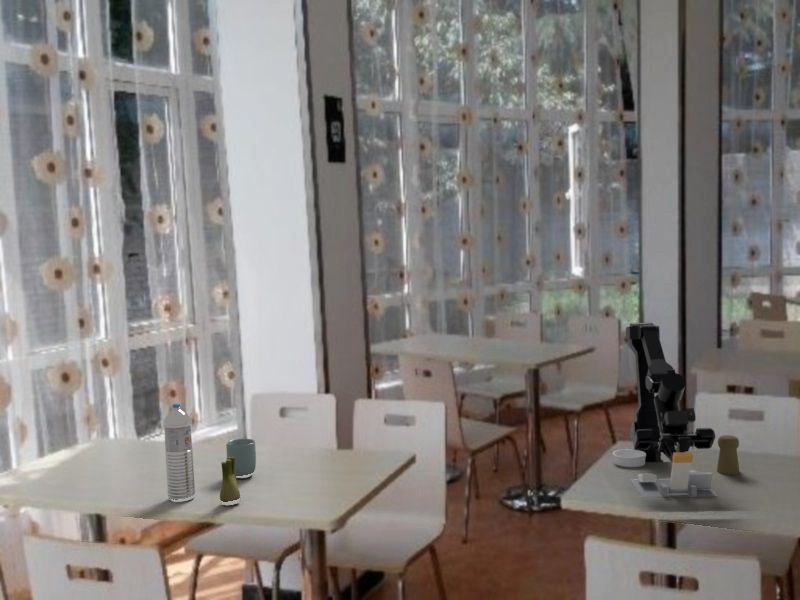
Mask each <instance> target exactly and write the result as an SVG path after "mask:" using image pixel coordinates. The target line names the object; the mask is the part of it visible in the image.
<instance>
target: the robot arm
mask: <svg viewBox="0 0 800 600" xmlns="http://www.w3.org/2000/svg"><path fill="white" fill-rule="evenodd" d="M660 332H661V331H660V325H656V324H654V323H653V322H631V323H629V326H627V327H625V338H626V340H627V343H628V346H629V348H630V349H631V351H632V353H633V354H634V355H635V356H634V357H635V358H634V359H635V371H636V372H635V373H636V385H637V398H638V399H637V400H638V403H637V404H638V407H637V408H636V410H635V412H634V414H633V420H632V421H631V425H630V430H629V438H630V439H629V440H631V442H632V443H633V450H640V451H643V452H645V453H646V457H645V463H663V462H664V460H663V459H662V454H663V455H664V456H665V457H666V458H667V459H668V460H669V461H670V462H671V464H672V463H673V452H690V448H691V444H692V443H693V446H694V447H695V448H696V449H697V450H703V449H705V450H706V449H711V448H712V446H713V445H714V442H715V440H716V433H715V430H714V429H713V428H712V427H697V428H696V430H695V432H694V433H685V432H686V431H687V430H688V426H687V425H689V423H694V422H695V421H696V418H697V417H696V412H695V408H691V407H690V408H688V407H687V408H685V409H684V410H680V405H679V402H681V400H682V397H683V394H684V392H685V391H684V390H685V388H686V383H687V382H686V379H685V378H684V377H683V376H682V375H681V374H679V373H677V372H676V370H675V369H674V367H673V365H671V364H670V363H669V362H667V361H666V357H665V354H664V350H663V346H662V344H661V340H660V339H661V335H660ZM655 394H656V395H655ZM675 444H677V445H675Z"/></svg>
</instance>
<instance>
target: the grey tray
mask: <svg viewBox="0 0 800 600" xmlns="http://www.w3.org/2000/svg"><path fill="white" fill-rule="evenodd" d="M670 478H671V477H667V478H661V477H660V478H659V477H658V478H657V482H641V481H639V480H638V478H629V480H630V483H631V484H632V485H633V486H634V488H635V490H636V491H637V493H638V495H640V497H641V498H693V497H694V498H695V497H696V498H703V497H707V498H708V497H709V498H710V497H712V498H713V497H719V496H718V495H717V493H716V492H714V490H713V489H712V488H711V489H697V487H696V485H695V484H694V483H688V493H672V494H669V493H668V486H669V485H670Z"/></svg>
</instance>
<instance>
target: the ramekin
mask: <svg viewBox="0 0 800 600" xmlns="http://www.w3.org/2000/svg"><path fill="white" fill-rule="evenodd" d="M612 456H613V462H614V464H615V465H617V466H620V467H625V468H637V467H643V466H645V465H646V462H645V457H646V453H645V452H643V451H640V450H634V449H632V448H631V449H617V450H615V451H613V452H612Z"/></svg>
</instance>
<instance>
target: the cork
mask: <svg viewBox="0 0 800 600" xmlns="http://www.w3.org/2000/svg"><path fill="white" fill-rule="evenodd" d="M739 443H740V441H739V438H738V437H737V436H735V435H730V434H724V435H723V434H722V435H721V436H719V437H718V439H717V445H718V447H719V453H718V461H717V466H716V467H717V469H716V472H717V473H718V474H721V475H729V476H731V475H733V476H736V475H739V474H740V473H741V471H740V465H739V464H740V463H739V456H738V451H737V449H738V448H739V447H740V444H739Z"/></svg>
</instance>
